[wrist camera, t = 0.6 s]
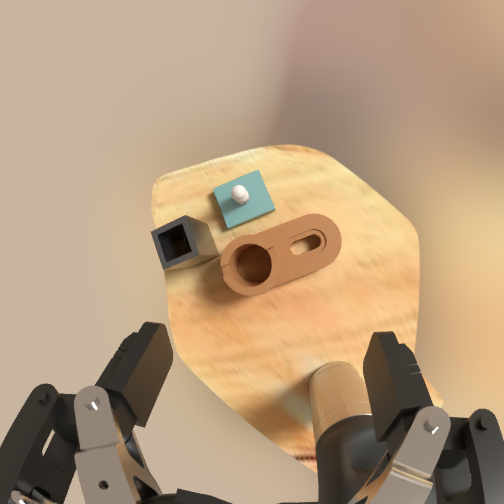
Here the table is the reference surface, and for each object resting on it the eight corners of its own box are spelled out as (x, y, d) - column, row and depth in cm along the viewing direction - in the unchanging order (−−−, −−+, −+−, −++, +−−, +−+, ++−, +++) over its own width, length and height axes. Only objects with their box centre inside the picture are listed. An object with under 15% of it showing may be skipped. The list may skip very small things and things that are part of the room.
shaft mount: (275, 210, 43) (273, 202, 37) (229, 229, 44) (219, 224, 38) (259, 172, 44) (254, 158, 37) (215, 191, 45) (203, 180, 38)
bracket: (241, 296, 44) (233, 303, 37) (223, 249, 45) (212, 247, 38) (345, 257, 42) (355, 257, 35) (326, 208, 42) (333, 200, 36)
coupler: (219, 255, 44) (199, 254, 35) (189, 267, 45) (163, 270, 35) (207, 223, 45) (185, 215, 35) (178, 236, 45) (150, 231, 36)
